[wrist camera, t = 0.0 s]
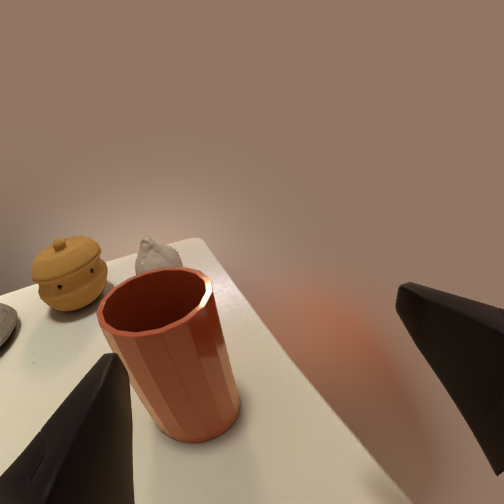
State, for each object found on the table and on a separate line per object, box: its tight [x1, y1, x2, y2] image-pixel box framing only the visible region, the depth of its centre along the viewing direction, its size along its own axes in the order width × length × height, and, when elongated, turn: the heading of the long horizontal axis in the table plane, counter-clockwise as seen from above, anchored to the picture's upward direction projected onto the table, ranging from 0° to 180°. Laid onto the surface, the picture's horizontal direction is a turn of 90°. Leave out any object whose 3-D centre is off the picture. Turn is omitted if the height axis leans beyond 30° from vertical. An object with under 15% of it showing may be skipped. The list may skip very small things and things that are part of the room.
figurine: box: [135, 236, 183, 275], centre depth 38 cm, size 6×7×8 cm
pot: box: [31, 236, 108, 311], centre depth 36 cm, size 12×12×10 cm
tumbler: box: [97, 267, 240, 442], centre depth 19 cm, size 7×7×11 cm
